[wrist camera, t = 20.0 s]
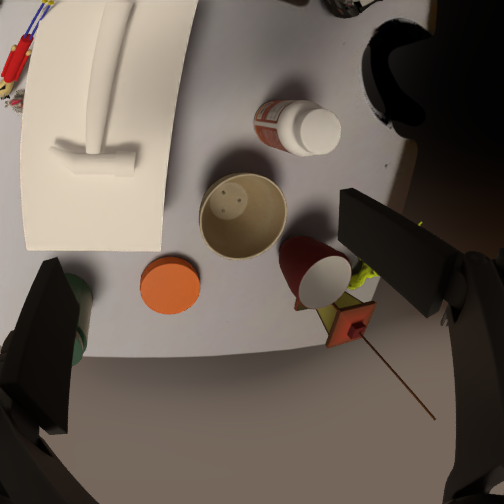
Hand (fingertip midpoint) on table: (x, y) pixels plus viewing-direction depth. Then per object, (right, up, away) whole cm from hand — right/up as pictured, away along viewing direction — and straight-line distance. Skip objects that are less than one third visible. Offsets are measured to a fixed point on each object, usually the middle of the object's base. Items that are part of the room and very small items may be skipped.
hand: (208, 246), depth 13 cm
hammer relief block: (-15, +15, +16) cm, 26 cm away
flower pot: (-1, +7, +26) cm, 27 cm away
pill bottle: (+5, +16, +23) cm, 29 cm away
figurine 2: (-15, +24, +1) cm, 29 cm away
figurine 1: (-25, +17, +10) cm, 32 cm away
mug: (+9, +1, +33) cm, 34 cm away
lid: (-9, -5, +27) cm, 29 cm away
